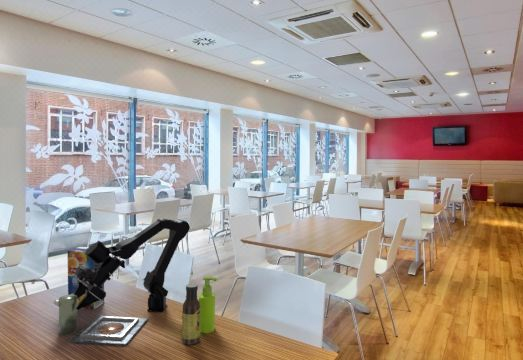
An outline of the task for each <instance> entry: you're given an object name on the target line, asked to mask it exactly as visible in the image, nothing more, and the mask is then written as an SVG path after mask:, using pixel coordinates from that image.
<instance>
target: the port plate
mask: <svg viewBox="0 0 523 360" xmlns="http://www.w3.org/2000/svg"><path fill="white" fill-rule="evenodd" d="M148 319H149V318H148V317H134V316H133V317H132V316H112V315H97V316H96V317H95V318H93V319H92V320H91V321H90V322H89V323H88V324H86V325H85V326H84V327H83V328H82V329H81V330H80V331H77V332H76V333H75V335H73V336H72V337H71V338H70V339H69V340H68V343H70V344H82V345H83V344H84V345H100V346H102V345H103V346H118V347H126V346H128V344H129V343H130V342H131V341H132V339H133V338H135V336H136V335H137V333H138V332H139V331H140V330H141V329H142V328H143V326H144V325H145V324H146V323H147V321H149V320H148Z"/></svg>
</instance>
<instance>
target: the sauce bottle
mask: <svg viewBox="0 0 523 360" xmlns="http://www.w3.org/2000/svg"><path fill="white" fill-rule="evenodd" d="M198 288H199V287H198V284H196V283H188V284H186V285H185V291H186V296H185V300H184V302H183V303H182V311H181V312H182V313H181V314H182V319H181V320H182V324H181V326H182V327H181V328H182V329H181V335H182V336H181V337H182V340H181V341H182V343H183V344H184V345H194V344H195V345H196V344H197V343H199V341H200V340H201V332H200V319H201V315H200V313H201V306H200V302H199V298H198Z"/></svg>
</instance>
